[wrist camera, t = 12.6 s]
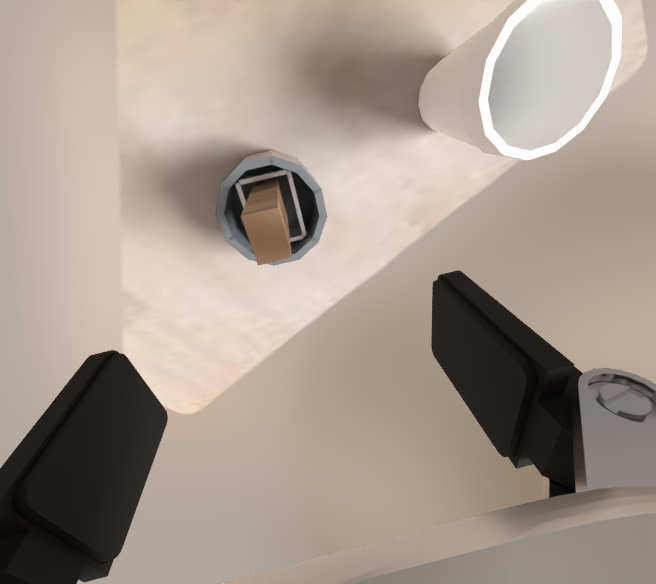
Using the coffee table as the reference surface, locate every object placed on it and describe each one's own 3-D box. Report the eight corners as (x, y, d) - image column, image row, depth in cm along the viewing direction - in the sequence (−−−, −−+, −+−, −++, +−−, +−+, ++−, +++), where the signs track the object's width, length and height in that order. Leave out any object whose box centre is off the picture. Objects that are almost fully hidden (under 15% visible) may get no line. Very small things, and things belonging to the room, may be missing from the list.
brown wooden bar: (255, 180, 31) (240, 216, 18) (277, 174, 31) (277, 207, 19) (265, 213, 32) (257, 265, 20) (286, 208, 32) (292, 257, 20)
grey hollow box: (239, 175, 30) (234, 181, 27) (288, 163, 30) (290, 168, 27) (259, 237, 34) (257, 249, 30) (304, 226, 34) (307, 237, 30)
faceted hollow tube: (212, 164, 30) (198, 172, 25) (306, 142, 30) (312, 145, 25) (245, 251, 35) (239, 274, 30) (325, 232, 35) (333, 250, 30)
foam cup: (431, 166, 33) (510, 187, 22) (385, 91, 29) (454, 69, 18) (505, 101, 31) (635, 87, 20) (467, 9, 27) (604, -74, 16)
